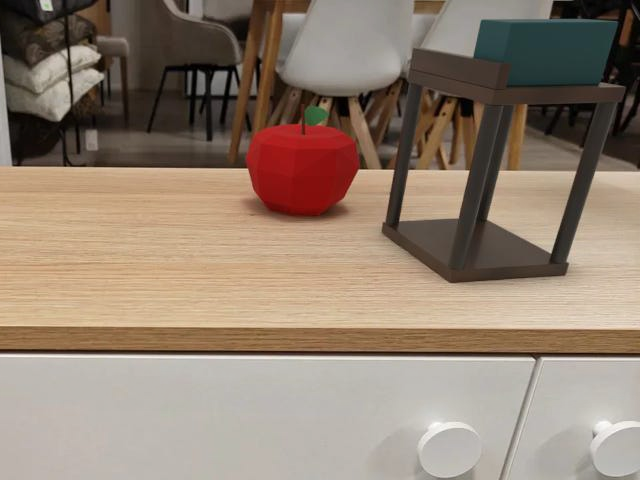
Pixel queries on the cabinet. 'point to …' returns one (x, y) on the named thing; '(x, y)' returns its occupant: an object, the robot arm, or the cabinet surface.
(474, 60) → the rack
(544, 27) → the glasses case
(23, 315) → the cabinet surface
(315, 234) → the cabinet surface
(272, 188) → the apple
